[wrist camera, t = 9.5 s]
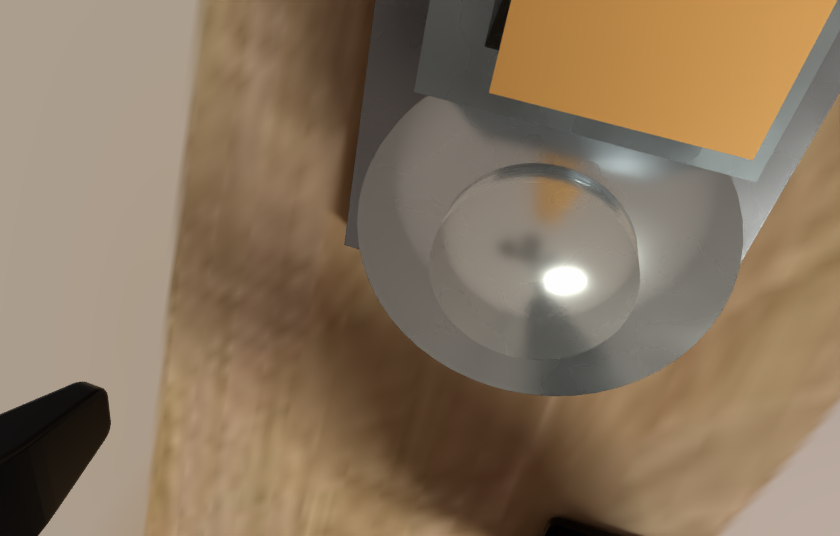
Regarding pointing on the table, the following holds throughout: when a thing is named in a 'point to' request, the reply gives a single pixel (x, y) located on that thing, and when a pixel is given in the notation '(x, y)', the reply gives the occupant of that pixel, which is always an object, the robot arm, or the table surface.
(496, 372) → the bracket
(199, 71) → the table surface
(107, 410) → the robot arm
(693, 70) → the orange rectangular prism
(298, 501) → the table surface
